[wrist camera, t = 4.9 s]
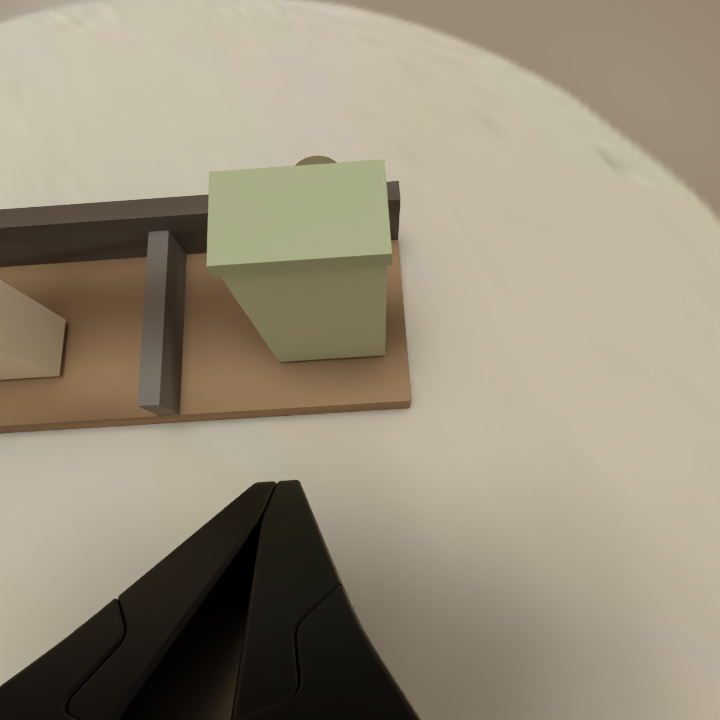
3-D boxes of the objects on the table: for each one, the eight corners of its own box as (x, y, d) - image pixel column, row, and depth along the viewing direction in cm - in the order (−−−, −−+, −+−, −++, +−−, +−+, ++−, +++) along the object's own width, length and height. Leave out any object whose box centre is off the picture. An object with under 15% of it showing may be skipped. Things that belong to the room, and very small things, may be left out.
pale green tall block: (388, 357, 21) (391, 253, 12) (276, 364, 21) (206, 266, 12) (383, 296, 21) (384, 159, 13) (275, 303, 21) (209, 172, 13)
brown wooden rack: (409, 407, 22) (418, 374, 17) (-38, 435, 22) (-168, 411, 17) (394, 228, 24) (398, 149, 19) (-10, 257, 25) (-116, 187, 19)
